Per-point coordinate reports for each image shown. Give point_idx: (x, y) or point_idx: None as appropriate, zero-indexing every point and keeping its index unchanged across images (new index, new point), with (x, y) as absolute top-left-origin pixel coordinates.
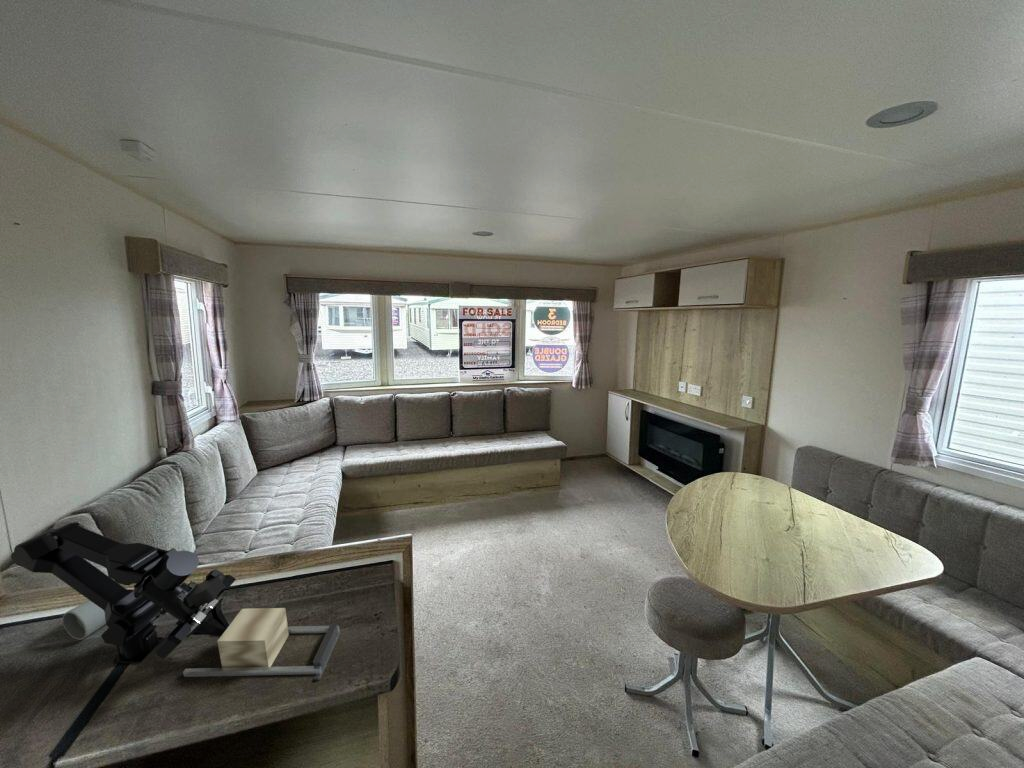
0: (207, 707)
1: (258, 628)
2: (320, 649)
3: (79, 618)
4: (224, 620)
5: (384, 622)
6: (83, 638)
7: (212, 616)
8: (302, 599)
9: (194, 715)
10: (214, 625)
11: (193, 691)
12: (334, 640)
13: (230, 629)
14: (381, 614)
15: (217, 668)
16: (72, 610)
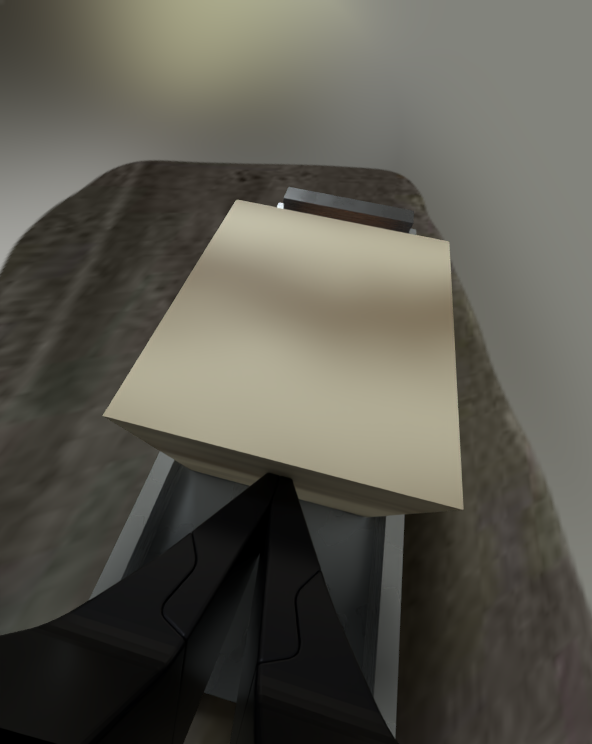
0: (493, 527)
1: (362, 276)
2: (376, 211)
3: None
4: (219, 531)
5: (273, 170)
6: None
7: (263, 735)
8: (66, 321)
9: (527, 569)
10: (328, 615)
11: (427, 635)
12: None
13: (342, 437)
14: (246, 173)
15: (389, 533)
16: None
